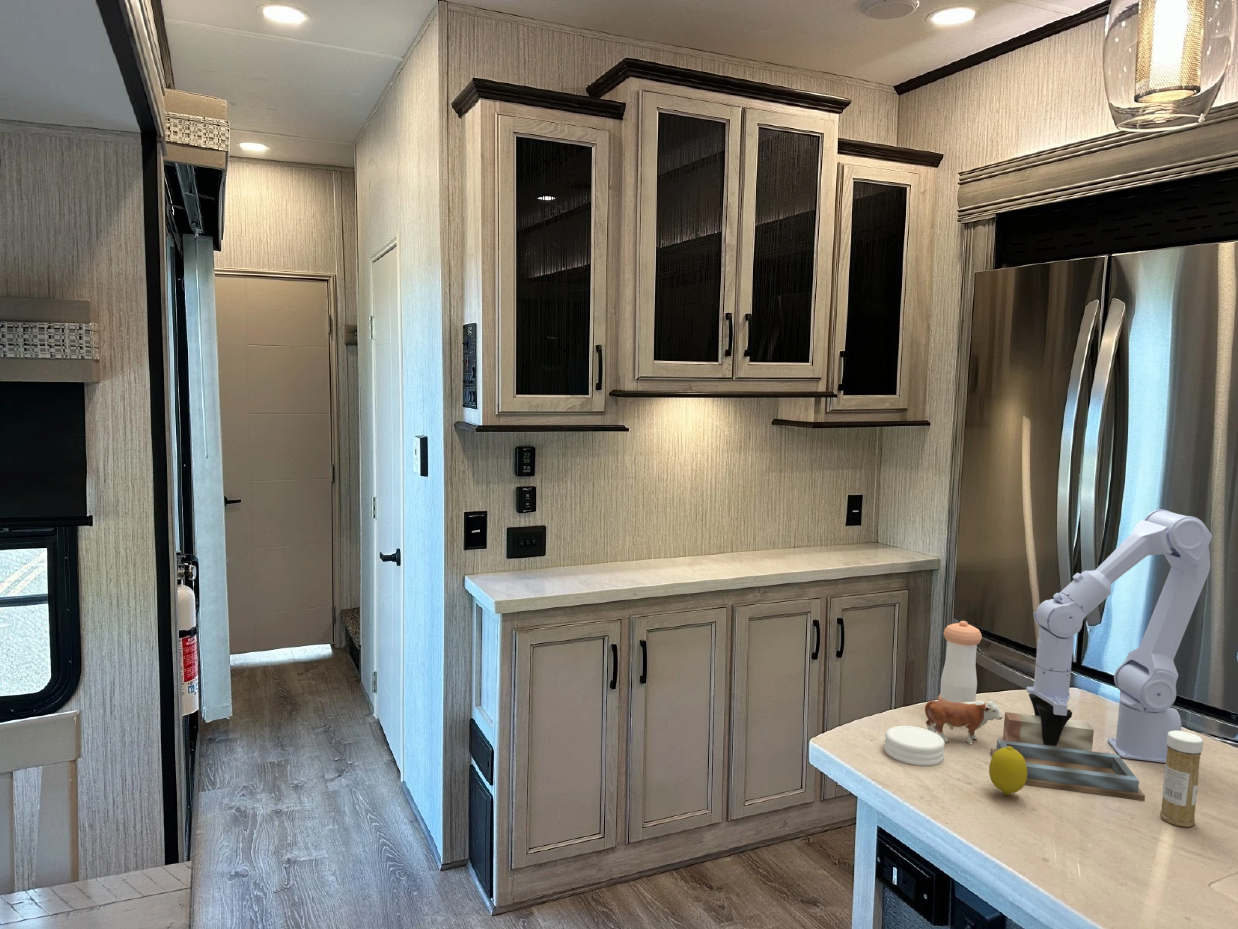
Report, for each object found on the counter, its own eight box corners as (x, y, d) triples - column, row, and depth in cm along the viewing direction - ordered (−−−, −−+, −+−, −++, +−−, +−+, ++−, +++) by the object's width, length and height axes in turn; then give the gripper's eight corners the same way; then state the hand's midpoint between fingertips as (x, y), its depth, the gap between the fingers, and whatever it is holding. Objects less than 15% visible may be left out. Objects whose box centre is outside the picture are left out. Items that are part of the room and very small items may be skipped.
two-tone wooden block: (1085, 748, 159) (1087, 721, 159) (1091, 757, 155) (1093, 729, 155) (1002, 738, 162) (1005, 712, 162) (1007, 746, 159) (1009, 719, 158)
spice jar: (1202, 827, 131) (1211, 740, 130) (1176, 829, 130) (1185, 742, 129) (1176, 812, 136) (1184, 728, 134) (1151, 814, 135) (1160, 730, 133)
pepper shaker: (982, 723, 169) (989, 627, 167) (944, 722, 169) (951, 625, 167) (967, 709, 176) (974, 617, 175) (931, 708, 176) (938, 615, 175)
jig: (1120, 769, 151) (1121, 753, 150) (1144, 800, 139) (1146, 783, 139) (990, 752, 156) (991, 737, 155) (1003, 781, 144) (1004, 765, 144)
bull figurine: (1002, 750, 157) (1005, 706, 156) (923, 741, 160) (927, 698, 159) (996, 740, 161) (1000, 697, 160) (920, 732, 164) (923, 690, 163)
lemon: (1023, 790, 141) (1027, 743, 140) (1026, 806, 136) (1031, 756, 135) (986, 784, 143) (989, 737, 142) (988, 799, 137) (992, 750, 137)
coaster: (939, 772, 147) (940, 752, 147) (878, 758, 152) (880, 739, 151) (947, 751, 156) (948, 732, 156) (890, 739, 161) (891, 720, 160)
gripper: (1020, 653, 165) (1015, 722, 167) (1038, 677, 151) (1032, 752, 153) (1061, 657, 164) (1055, 727, 165) (1082, 682, 150) (1076, 758, 151)
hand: (1046, 739), depth 159 cm, fingers closed on two-tone wooden block, 4 cm apart
